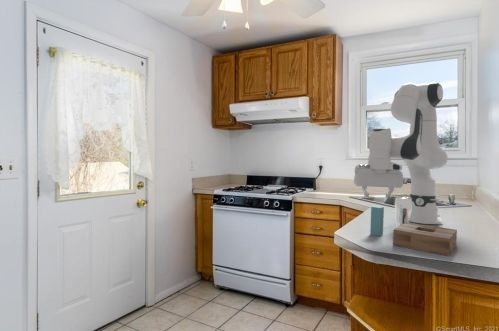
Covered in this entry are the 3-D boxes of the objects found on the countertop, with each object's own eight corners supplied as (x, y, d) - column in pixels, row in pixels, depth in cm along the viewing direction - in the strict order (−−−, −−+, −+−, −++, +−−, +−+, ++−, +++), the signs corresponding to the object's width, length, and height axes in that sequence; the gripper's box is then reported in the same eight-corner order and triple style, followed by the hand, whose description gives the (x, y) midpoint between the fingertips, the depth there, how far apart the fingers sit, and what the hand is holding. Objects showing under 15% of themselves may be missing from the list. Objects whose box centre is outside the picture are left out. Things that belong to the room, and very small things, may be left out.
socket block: (405, 236, 129) (406, 222, 129) (456, 245, 117) (456, 229, 117) (392, 245, 116) (393, 229, 115) (448, 256, 104) (449, 238, 104)
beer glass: (390, 228, 142) (391, 197, 142) (401, 228, 145) (403, 196, 144) (402, 232, 136) (404, 199, 135) (414, 231, 138) (415, 198, 138)
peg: (373, 232, 134) (374, 205, 134) (382, 234, 131) (383, 206, 131) (370, 234, 131) (371, 206, 131) (379, 236, 128) (380, 208, 128)
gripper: (357, 164, 127) (356, 197, 127) (406, 166, 127) (404, 199, 128) (352, 164, 133) (350, 195, 133) (398, 165, 134) (396, 197, 134)
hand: (377, 197), depth 131 cm, fingers open, 8 cm apart
